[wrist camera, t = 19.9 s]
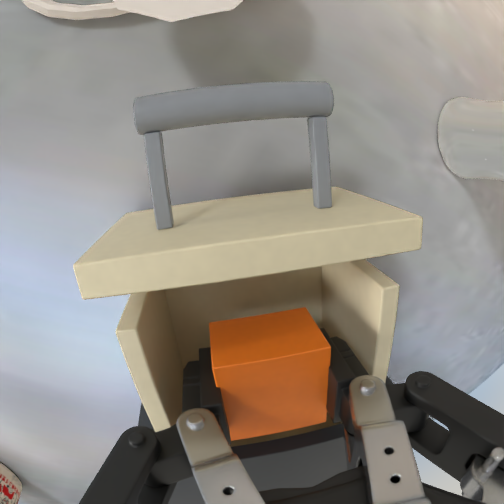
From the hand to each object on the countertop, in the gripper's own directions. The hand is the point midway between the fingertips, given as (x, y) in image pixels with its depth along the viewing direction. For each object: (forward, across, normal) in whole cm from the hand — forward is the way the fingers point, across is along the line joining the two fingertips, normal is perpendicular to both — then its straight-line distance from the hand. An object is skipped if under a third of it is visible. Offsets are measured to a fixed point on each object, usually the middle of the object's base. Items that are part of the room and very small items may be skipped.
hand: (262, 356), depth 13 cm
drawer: (+6, 0, -2) cm, 6 cm away
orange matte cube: (0, 0, 0) cm, 0 cm away
